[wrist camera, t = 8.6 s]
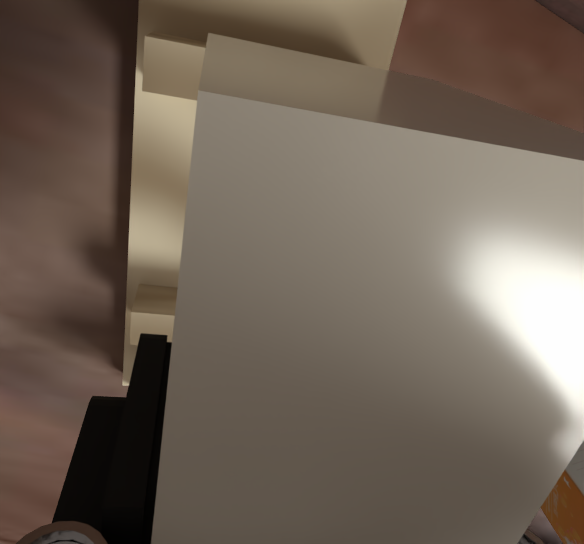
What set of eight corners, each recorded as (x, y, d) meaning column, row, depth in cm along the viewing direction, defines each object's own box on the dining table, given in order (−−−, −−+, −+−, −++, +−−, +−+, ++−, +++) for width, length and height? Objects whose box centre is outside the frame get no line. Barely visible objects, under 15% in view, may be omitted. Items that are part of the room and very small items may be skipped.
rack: (147, -121, 15) (120, -166, 11) (412, -51, 17) (478, -68, 13) (125, 374, 24) (105, 455, 20) (300, 384, 26) (316, 460, 22)
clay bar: (208, 32, 8) (198, 90, 3) (431, 79, 9) (743, 189, 4) (151, 557, 14) (116, 876, 9) (285, 555, 15) (323, 845, 10)
